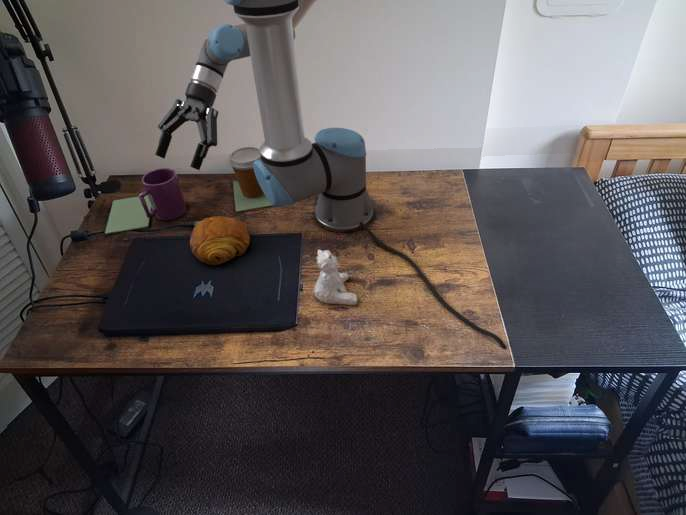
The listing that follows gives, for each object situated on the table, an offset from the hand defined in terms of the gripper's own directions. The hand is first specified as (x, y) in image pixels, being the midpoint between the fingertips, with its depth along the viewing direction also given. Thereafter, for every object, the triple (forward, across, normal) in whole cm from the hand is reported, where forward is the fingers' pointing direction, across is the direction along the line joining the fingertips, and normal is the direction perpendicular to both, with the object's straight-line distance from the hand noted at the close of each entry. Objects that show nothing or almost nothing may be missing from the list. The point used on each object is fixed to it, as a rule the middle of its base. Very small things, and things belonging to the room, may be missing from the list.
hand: (176, 162), depth 123 cm
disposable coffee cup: (0, -15, -16) cm, 22 cm away
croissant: (+16, -24, 0) cm, 29 cm away
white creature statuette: (+16, -57, 0) cm, 60 cm away
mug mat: (+18, +9, +1) cm, 20 cm away
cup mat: (0, -15, -16) cm, 22 cm away
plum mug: (+14, 0, -2) cm, 14 cm away
